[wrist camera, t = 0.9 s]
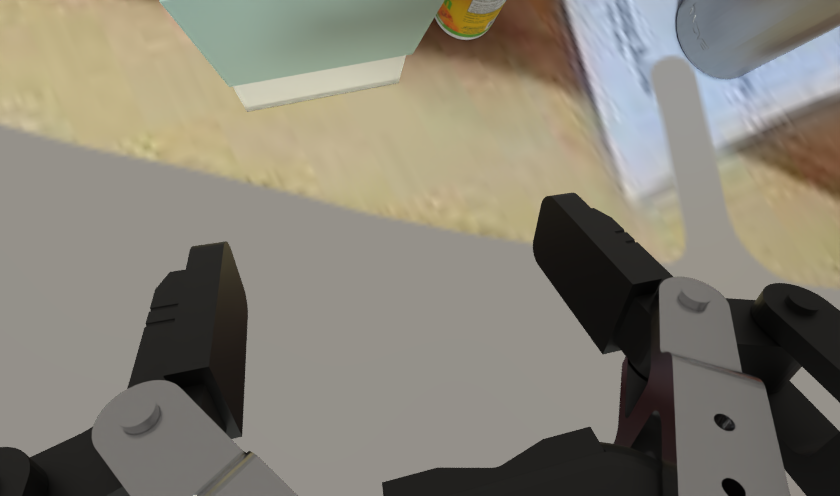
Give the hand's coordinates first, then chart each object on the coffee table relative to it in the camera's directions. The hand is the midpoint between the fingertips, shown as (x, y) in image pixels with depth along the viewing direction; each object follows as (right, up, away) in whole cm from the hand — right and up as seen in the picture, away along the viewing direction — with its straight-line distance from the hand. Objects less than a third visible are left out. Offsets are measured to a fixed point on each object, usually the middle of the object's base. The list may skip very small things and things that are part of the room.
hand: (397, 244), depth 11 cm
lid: (-5, +12, +11) cm, 17 cm away
